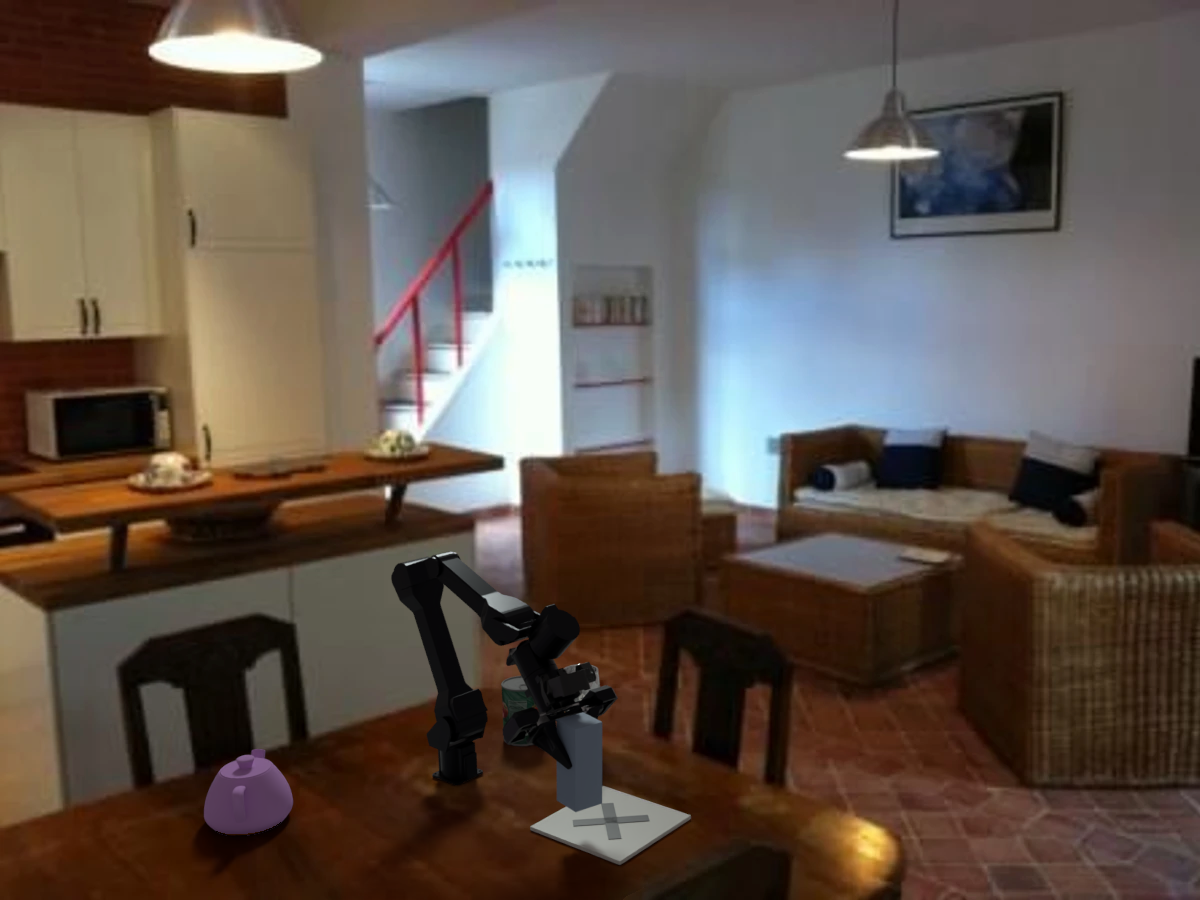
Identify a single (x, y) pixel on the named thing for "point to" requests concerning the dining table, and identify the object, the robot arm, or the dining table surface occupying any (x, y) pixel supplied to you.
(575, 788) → the blue block
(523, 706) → the canned tomato
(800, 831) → the dining table surface
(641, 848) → the pad
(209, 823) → the teapot
